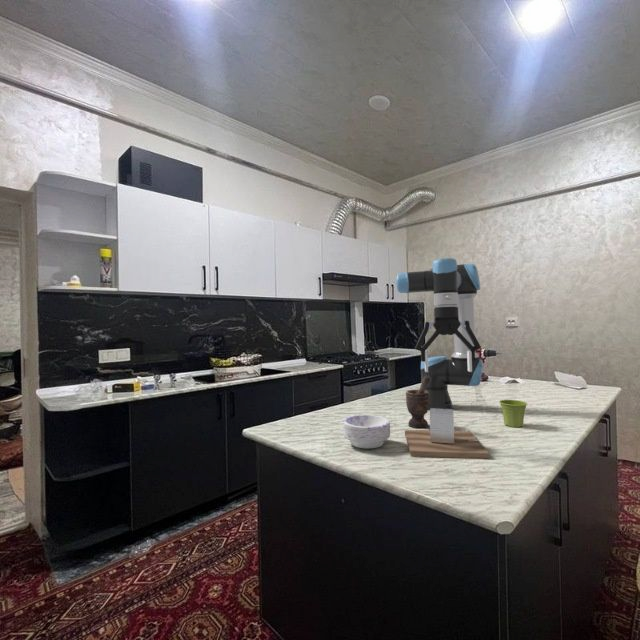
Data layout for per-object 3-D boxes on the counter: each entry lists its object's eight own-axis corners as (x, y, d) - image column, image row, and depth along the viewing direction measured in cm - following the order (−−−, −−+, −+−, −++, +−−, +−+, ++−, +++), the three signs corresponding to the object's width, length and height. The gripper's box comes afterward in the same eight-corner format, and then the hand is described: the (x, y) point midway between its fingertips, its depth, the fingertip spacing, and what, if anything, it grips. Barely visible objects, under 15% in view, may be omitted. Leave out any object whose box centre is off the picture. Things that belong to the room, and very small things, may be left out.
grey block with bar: (454, 443, 113) (453, 414, 114) (430, 441, 116) (429, 413, 116) (453, 433, 124) (452, 406, 124) (431, 432, 126) (431, 405, 126)
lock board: (404, 434, 130) (404, 429, 130) (470, 435, 127) (469, 430, 127) (410, 456, 109) (410, 450, 109) (489, 458, 105) (489, 452, 105)
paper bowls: (379, 455, 110) (378, 428, 110) (335, 447, 118) (334, 422, 118) (397, 441, 123) (396, 417, 123) (356, 435, 131) (355, 412, 131)
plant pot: (526, 423, 140) (526, 400, 141) (529, 430, 132) (528, 405, 132) (499, 421, 144) (498, 399, 144) (500, 427, 136) (499, 404, 136)
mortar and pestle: (441, 427, 138) (440, 373, 138) (428, 432, 132) (426, 376, 132) (415, 421, 146) (414, 371, 147) (402, 426, 141) (400, 373, 141)
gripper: (407, 307, 119) (409, 373, 119) (489, 304, 115) (491, 372, 115) (406, 308, 126) (408, 370, 126) (483, 305, 122) (485, 369, 122)
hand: (447, 371), depth 120 cm, fingers open, 13 cm apart
